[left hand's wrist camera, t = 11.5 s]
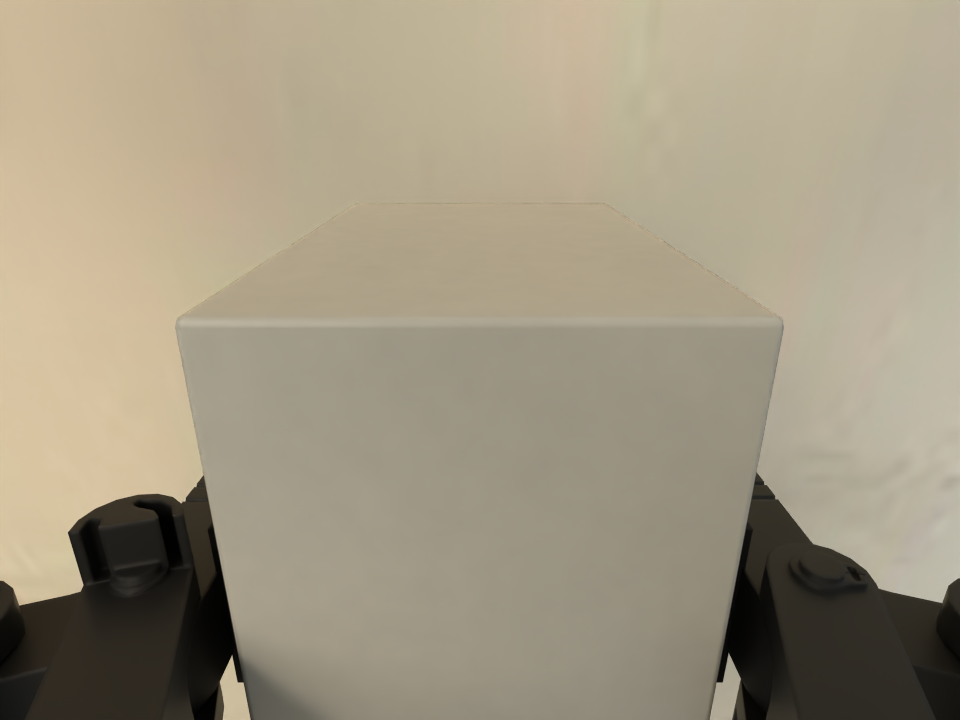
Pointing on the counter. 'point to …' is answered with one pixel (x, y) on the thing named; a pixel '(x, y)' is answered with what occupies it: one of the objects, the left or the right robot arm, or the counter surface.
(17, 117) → the counter surface
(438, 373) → the post
